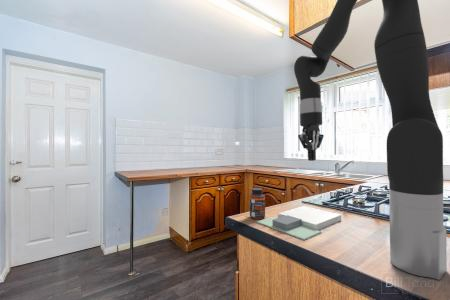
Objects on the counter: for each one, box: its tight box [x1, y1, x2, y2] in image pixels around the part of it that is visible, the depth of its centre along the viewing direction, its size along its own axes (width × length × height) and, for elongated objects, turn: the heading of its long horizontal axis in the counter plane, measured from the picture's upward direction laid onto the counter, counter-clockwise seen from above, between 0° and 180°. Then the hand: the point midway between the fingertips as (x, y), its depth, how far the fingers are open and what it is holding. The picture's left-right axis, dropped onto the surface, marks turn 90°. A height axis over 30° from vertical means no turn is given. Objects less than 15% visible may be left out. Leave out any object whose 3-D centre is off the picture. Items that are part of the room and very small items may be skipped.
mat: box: [256, 216, 322, 241], centre depth 77 cm, size 20×9×1 cm, turn 36°
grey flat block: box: [273, 215, 302, 231], centre depth 78 cm, size 6×8×2 cm
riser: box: [277, 205, 342, 231], centre depth 84 cm, size 16×16×2 cm
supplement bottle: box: [249, 187, 266, 220], centre depth 88 cm, size 6×6×11 cm
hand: (312, 160), depth 82 cm, fingers closed
